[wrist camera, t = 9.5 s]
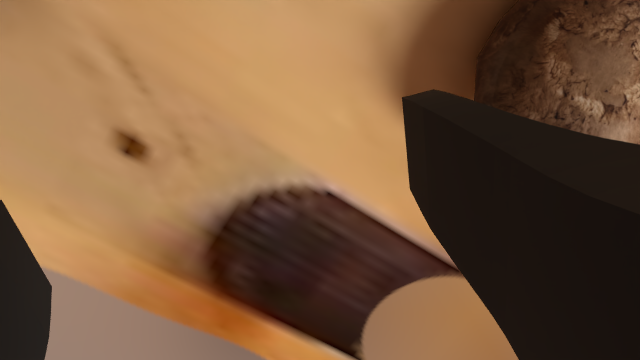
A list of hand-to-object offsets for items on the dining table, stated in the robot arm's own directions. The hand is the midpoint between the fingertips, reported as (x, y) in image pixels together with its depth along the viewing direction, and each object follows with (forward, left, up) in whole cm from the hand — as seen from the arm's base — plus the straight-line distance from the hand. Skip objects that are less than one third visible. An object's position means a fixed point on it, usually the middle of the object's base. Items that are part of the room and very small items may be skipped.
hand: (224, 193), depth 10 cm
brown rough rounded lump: (+13, -4, -11) cm, 17 cm away
